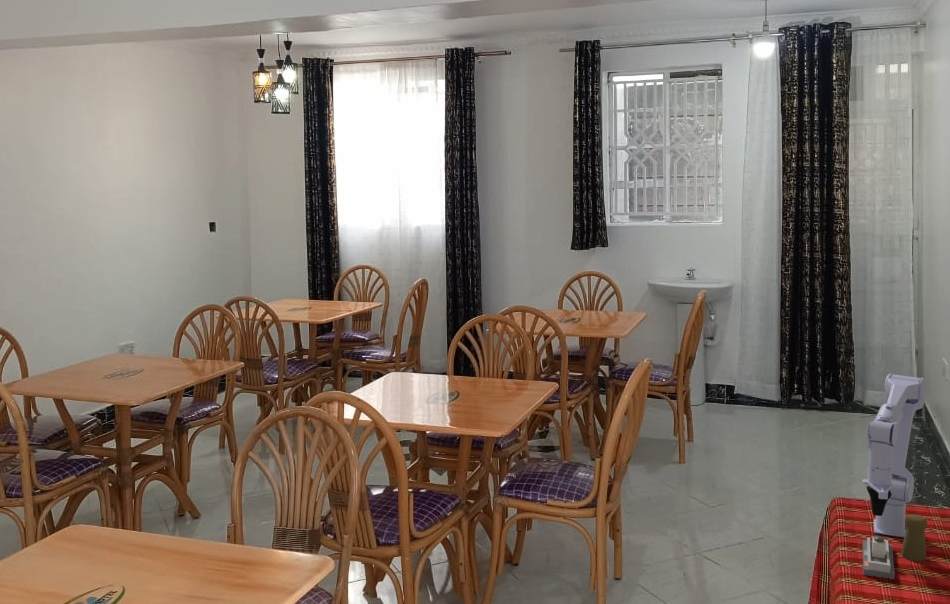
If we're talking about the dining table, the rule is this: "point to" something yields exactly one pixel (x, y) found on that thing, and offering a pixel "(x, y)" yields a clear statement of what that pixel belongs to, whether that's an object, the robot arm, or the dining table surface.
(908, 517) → the brown tall tapered piece
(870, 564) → the board
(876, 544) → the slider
